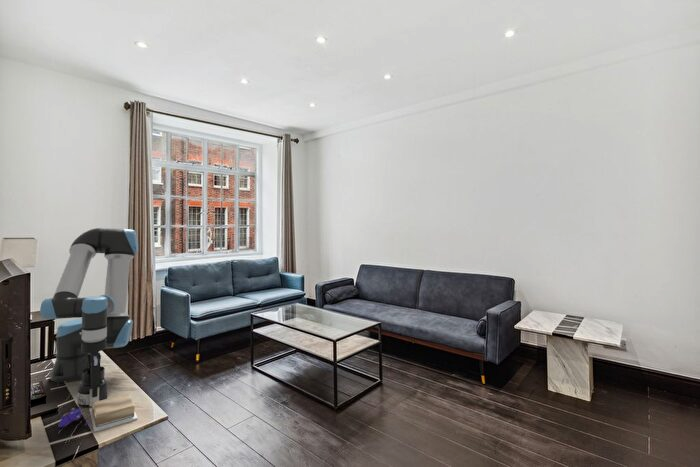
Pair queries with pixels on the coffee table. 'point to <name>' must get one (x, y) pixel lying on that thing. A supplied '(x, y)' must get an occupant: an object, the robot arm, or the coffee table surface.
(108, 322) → the robot arm
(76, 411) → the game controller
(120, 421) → the grey thin flat slab
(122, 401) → the oak plinth
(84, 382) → the ink bottle
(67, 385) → the coffee table surface
